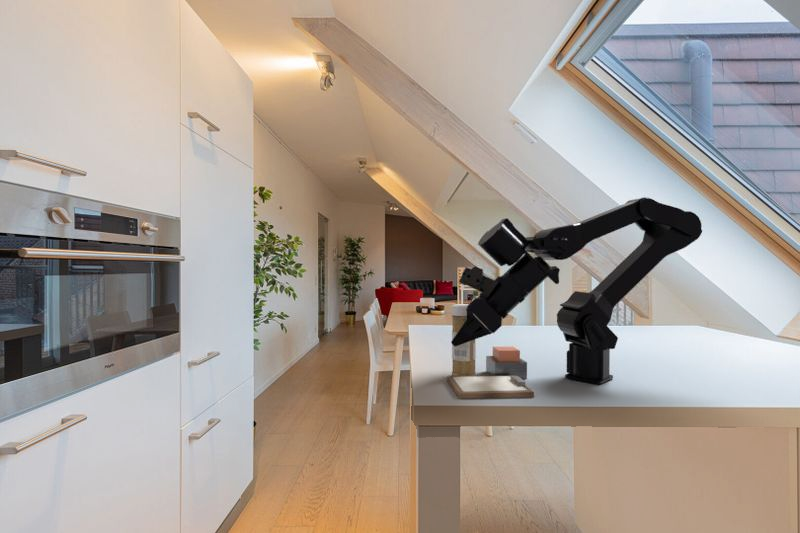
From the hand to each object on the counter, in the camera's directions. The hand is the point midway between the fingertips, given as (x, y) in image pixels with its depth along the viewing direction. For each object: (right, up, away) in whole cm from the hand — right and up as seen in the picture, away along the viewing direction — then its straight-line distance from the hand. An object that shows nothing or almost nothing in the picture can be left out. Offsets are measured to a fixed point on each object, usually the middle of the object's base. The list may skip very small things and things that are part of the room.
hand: (456, 340), depth 84 cm
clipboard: (+4, -7, -8) cm, 12 cm away
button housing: (+10, -7, +1) cm, 12 cm away
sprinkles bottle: (+1, -7, 0) cm, 7 cm away
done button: (+10, -5, +1) cm, 11 cm away
